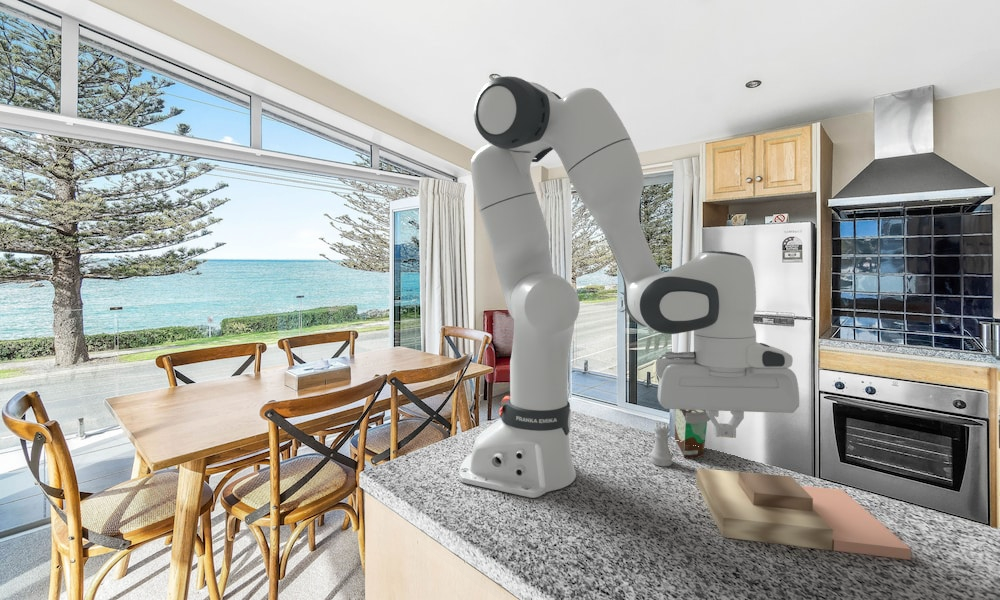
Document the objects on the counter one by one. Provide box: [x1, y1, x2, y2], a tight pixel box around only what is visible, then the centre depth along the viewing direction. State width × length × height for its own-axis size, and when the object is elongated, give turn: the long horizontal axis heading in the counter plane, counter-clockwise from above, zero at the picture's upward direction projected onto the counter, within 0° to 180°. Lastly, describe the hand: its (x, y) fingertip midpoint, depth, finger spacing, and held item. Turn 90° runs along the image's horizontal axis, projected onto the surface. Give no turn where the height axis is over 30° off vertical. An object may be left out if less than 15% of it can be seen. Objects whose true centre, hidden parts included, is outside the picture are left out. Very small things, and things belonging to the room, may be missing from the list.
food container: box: [674, 409, 711, 459], centre depth 92 cm, size 12×6×10 cm, turn 168°
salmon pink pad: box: [800, 485, 912, 561], centre depth 65 cm, size 9×16×2 cm, turn 167°
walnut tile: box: [737, 471, 813, 511], centre depth 67 cm, size 8×7×2 cm
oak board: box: [696, 467, 833, 551], centre depth 68 cm, size 14×16×3 cm
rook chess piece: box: [649, 421, 674, 468], centre depth 86 cm, size 4×4×8 cm
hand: (724, 436), depth 68 cm, fingers closed
